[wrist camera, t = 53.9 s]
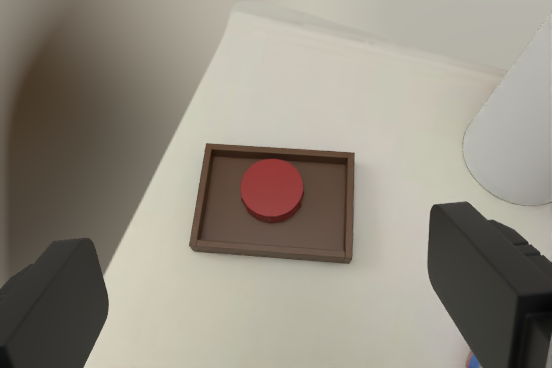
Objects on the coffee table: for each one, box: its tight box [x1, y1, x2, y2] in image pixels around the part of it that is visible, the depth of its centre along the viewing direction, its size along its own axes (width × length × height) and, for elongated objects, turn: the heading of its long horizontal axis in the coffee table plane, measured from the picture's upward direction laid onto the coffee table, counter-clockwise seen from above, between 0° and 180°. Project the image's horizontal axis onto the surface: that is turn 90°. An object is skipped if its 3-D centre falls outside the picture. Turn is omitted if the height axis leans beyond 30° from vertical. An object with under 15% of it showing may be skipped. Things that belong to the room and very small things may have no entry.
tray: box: [189, 143, 354, 263], centre depth 41 cm, size 14×10×2 cm
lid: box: [240, 159, 304, 224], centre depth 41 cm, size 6×6×2 cm
